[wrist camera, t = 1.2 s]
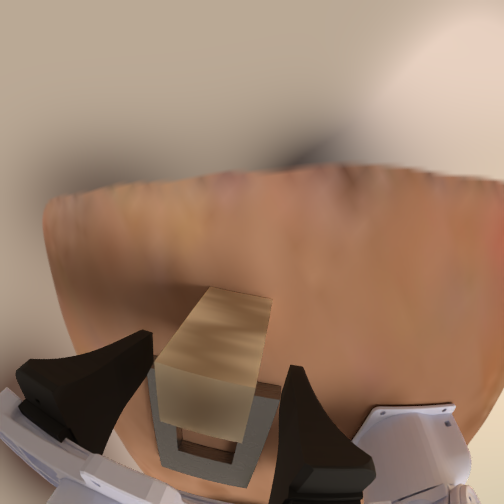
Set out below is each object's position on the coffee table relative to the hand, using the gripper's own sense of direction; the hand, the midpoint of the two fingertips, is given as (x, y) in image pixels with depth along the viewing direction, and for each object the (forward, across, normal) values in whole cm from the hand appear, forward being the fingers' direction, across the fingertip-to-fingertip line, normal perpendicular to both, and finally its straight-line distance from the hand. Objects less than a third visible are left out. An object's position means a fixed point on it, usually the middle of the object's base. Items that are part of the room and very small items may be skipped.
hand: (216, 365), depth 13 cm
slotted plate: (+5, +1, +14) cm, 14 cm away
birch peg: (+5, 0, 0) cm, 5 cm away
